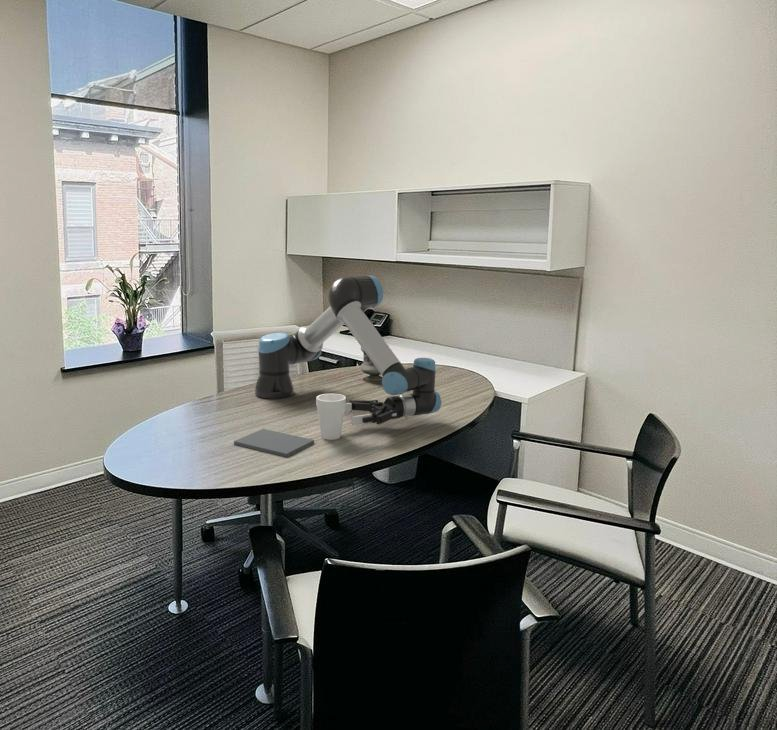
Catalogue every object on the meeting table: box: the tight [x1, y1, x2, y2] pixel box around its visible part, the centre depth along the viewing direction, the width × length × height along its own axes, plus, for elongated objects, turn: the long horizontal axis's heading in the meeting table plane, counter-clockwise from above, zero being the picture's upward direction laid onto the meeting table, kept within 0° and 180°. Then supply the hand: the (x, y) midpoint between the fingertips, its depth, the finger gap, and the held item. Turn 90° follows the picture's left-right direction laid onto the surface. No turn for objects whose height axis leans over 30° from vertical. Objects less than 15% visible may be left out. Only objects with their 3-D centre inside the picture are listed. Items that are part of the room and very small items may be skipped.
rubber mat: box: [233, 428, 315, 458], centre depth 198 cm, size 20×14×1 cm
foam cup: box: [315, 393, 347, 441], centre depth 204 cm, size 10×9×13 cm
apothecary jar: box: [360, 346, 383, 384], centre depth 276 cm, size 12×12×18 cm
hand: (342, 415), depth 206 cm, fingers open, 13 cm apart
